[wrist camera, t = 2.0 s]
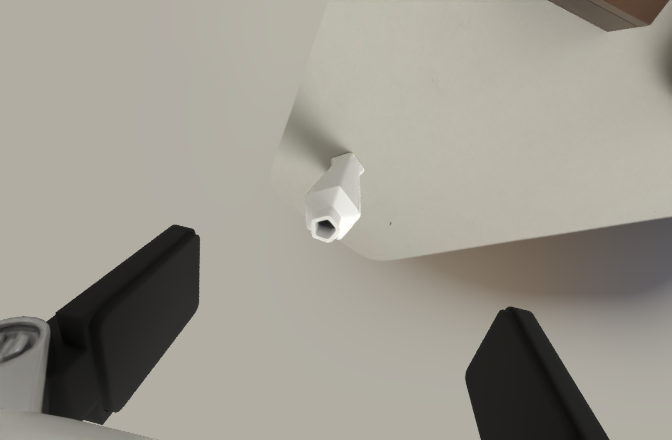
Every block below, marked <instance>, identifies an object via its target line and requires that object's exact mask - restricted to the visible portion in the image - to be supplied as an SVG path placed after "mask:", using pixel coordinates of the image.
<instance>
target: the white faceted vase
mask: <svg viewBox="0 0 672 440" xmlns="http://www.w3.org/2000/svg"><path fill="white" fill-rule="evenodd" d="M363 172H364V168H363V167H362V165H361V164H360V163H359V161H358V160H357V158H356V157H355V156H354V154H353V153H351V152H350V153H347V154H343V155H340V156H337V157H334V158H332V159H331V167H330V168H329V169H328V170H327V171H326V173H325V174H324V175H323V176H322V177H321V178H320V179H319V181H318V182H317V183H316V184H315V185H314V186H313V188H312V189H311V190H310V191H309V192H308V193H307V194H306V196H305V215H306V228H307V229H308V230H311V232H312V236H313V238H316V239H318V240H321V241H324V242H328V243H330V242H332V241H333V239H334V238H335V239H338V240H340V239H342V238H343V237H344V235H345V234H346V233H347V232H348V231H349V229H350V228H351V227H352V226H353V225H354V224H355V222H356V221H357V220H358V219H359V218H360V216H361V205H360V175H361V174H362V173H363Z"/></svg>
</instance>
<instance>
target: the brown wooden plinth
mask: <svg viewBox="0 0 672 440" xmlns="http://www.w3.org/2000/svg"><path fill="white" fill-rule="evenodd" d="M549 1H551V2H552V3H554V4H556V5H558V6H560V7H562V8H564V9H566V10H568V11H569V12H571V13H573V14H575V15H577V16H579V17H581V18H583V19H585V20H586V21H588V22H590V23H592V24H594V25H596V26H598V27H600V28H601V29H603V30H605V31H607V32H609V31H616V30H622V29H628V28H635V27H642V26H648V25H651V23H652V22H653V21H654V19H655V18H656V17H657V15H658V14H659V13H660V12H661V10H662V9H663V8H664V6H665V5H666V4H667V2H668V1H669V0H549Z"/></svg>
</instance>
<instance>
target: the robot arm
mask: <svg viewBox="0 0 672 440" xmlns="http://www.w3.org/2000/svg"><path fill="white" fill-rule="evenodd" d="M199 260H200V237H199V235H196V234H195V231H194V229H191V228H187V227H183V226H179V225H172V226H171V227H169V228H168V229H167V230H165V231H164V232H163V233H161V234H160V235H159V236H157V237H156V238H155V239H153V240H152V241H151V242H149V243H148V244H147V245H145V246H144V247H143V248H141V249H140V250H139V251H137V252H136V253H135V254H133V255H132V256H131V257H129V258H128V259H127V260H125V261H124V262H123V263H121V264H120V265H119V266H117V267H116V268H115V269H113V270H112V271H111V272H109V273H108V274H107V275H105V276H104V277H103V278H101V279H100V280H99V281H97V282H96V283H95V284H93V285H92V286H91V287H89V288H88V289H87V290H85V291H84V292H83V293H81V294H80V295H79V296H77V297H76V298H75V299H73V300H72V301H71V302H69V303H68V304H67V305H65V306H64V307H63V308H61V309H60V310H58V311H57V312H56V315H55V316H53V317H52V318H51V319H50V320H48V321H47V322H45V321H44V320H42V319H39V318H36V317H25V316H23V317H14V318H8V319H4V320H0V440H156V439H153V438H149V437H145V436H141V435H137V434H133V433H129V432H124V431H120V430H116V429H112V428H108V427H103V426H99V425H95V424H91V423H87V422H82V421H83V420H86V421H90V422H94V423H97V424H101V425H103V424H104V422H105V421H106V420H107V419H108V417H109V416H110V415H111V414H112V412H119V411H120V410H121V409H122V408H123V407H124V405H125V404H126V403H127V402H128V400H129V399H130V398H131V396H132V395H133V394H134V392H135V391H136V390H137V388H138V387H139V386H140V384H141V383H142V382H143V381H144V379H145V378H146V377H147V375H148V374H149V373H150V371H151V370H152V369H153V368H154V366H155V365H156V364H157V362H158V361H159V360H160V358H161V357H162V356H163V354H164V353H165V352H166V351H167V349H168V348H169V347H170V345H171V344H172V343H173V341H174V340H175V339H176V337H177V336H178V334H180V332H181V331H182V330H183V328H184V327H185V325H186V324H187V323H188V322H189V320H190V319H191V318H192V316H193V315H194V314H195V312H196V310H197V308H198V305H199V263H200V261H199ZM465 380H466V385H467V389H468V392H469V396H470V400H471V404H472V408H473V412H474V415H475V419H476V423H477V427H478V431H479V434H480V438H481V440H609V438H608V436H607V435H606V433H605V431H604V430H603V428H602V427H601V425H600V423H599V422H598V420H597V418H596V417H595V415H594V413H593V412H592V410H591V409H590V407H589V405H588V404H587V402H586V400H585V399H584V397H583V395H582V394H581V392H580V390H579V389H578V387H577V386H576V384H575V382H574V381H573V379H572V377H571V376H570V374H569V373H568V371H567V369H566V368H565V366H564V364H563V363H562V361H561V359H560V358H559V356H558V354H557V353H556V351H555V349H554V348H553V346H552V344H551V343H550V342H549V340H548V338H547V336H546V335H545V333H544V331H543V330H542V328H541V326H540V325H539V323H538V322H537V320H536V318H535V317H534V315H533V314H532V313H531V312H530V311H527V310H523V309H519V308H514V307H507V308H506V309H505V310H500V311H499V313H498V314H497V316H496V318H495V320H494V321H493V323H492V325H491V327H490V329H489V330H488V332H487V334H486V336H485V338H484V340H483V341H482V343H481V345H480V347H479V349H478V350H477V352H476V354H475V356H474V358H473V359H472V361H471V363H470V365H469V366H468V368H467V371H466V376H465Z"/></svg>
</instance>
